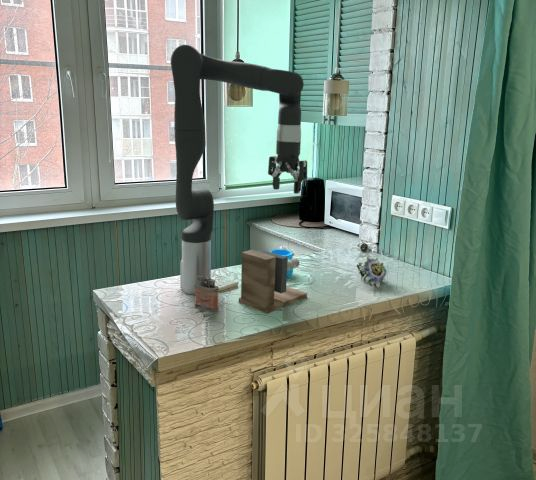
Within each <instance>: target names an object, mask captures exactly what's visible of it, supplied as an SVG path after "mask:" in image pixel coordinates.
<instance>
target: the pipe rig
mask: <svg viewBox="0 0 536 480" xmlns="http://www.w3.org/2000/svg"><path fill="white" fill-rule="evenodd" d="M275 263H276V257H274V256H271V255H267V254H264V253H261V252H257V250H254V249H248V250H246V251H242V252H241V273H240V274H241V279H240V281H241V282H240V283H241V285H240V297H238V303H239V304H241V305H244V306H246V307H249V308H252V309H254V310H257V311H259V312H261V313H262V312H263V313H264V314H267V315H268V314H271V313H272V312H275V311H277V310H280V309H282V308H285V307H286V306H290V305H292V304H295V303H297V302H299V301H302V300H304V299H306V298H307V297H308V292H305V291H303V290H299V289H297V288H293V287H291V286H288V285H286V292H284V293H278V292H275V291H274V288H275ZM299 266H300V261H299V259H298V258H296V257H295V258H293V259H291V260H288V262H287V271H288V270H291V269H293V270H294V269H296V268H298V267H299Z"/></svg>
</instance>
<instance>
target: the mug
mask: <svg viewBox="0 0 536 480" xmlns="http://www.w3.org/2000/svg"><path fill="white" fill-rule="evenodd" d="M269 252H271V253H275V254H278V255H282V256H285V257H288V260H291V259H294V258H293V254H294V253H293V251H291V250H289V249H284V248H283V249H282V248H281V249H280V248H278V249H272V250H270V251H269ZM293 273H294V269H291V270H288V271H287V278H289V277H292V275H293Z"/></svg>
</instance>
